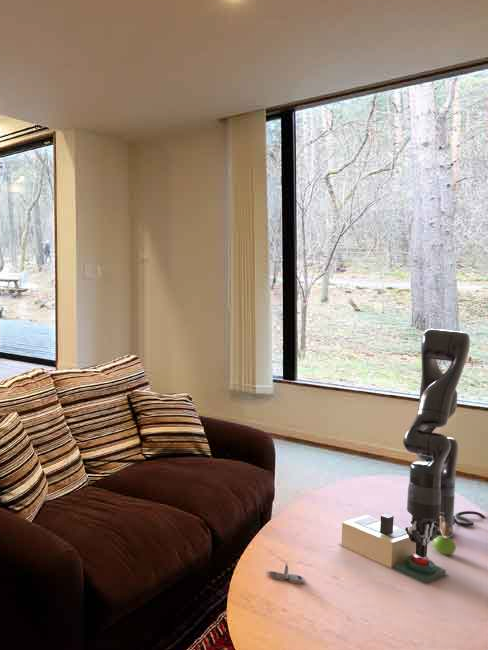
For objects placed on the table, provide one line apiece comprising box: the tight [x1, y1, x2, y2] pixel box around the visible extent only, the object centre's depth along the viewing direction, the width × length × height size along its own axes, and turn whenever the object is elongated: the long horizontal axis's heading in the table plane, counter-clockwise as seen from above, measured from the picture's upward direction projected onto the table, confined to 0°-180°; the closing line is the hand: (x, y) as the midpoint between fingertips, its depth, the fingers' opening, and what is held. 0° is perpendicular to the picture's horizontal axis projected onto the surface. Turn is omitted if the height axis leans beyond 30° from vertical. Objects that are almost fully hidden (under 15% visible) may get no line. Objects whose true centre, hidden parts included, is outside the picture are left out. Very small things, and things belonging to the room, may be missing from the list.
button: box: [413, 553, 430, 565], centre depth 159 cm, size 4×4×2 cm
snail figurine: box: [432, 512, 457, 556], centre depth 170 cm, size 5×6×12 cm
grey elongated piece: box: [269, 562, 304, 584], centre depth 157 cm, size 8×3×4 cm, turn 65°
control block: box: [394, 555, 447, 584], centre depth 159 cm, size 10×8×4 cm
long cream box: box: [341, 514, 416, 569], centre depth 171 cm, size 12×15×8 cm
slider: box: [380, 513, 395, 535], centre depth 166 cm, size 3×2×6 cm, turn 113°
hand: (421, 555), depth 159 cm, fingers closed
